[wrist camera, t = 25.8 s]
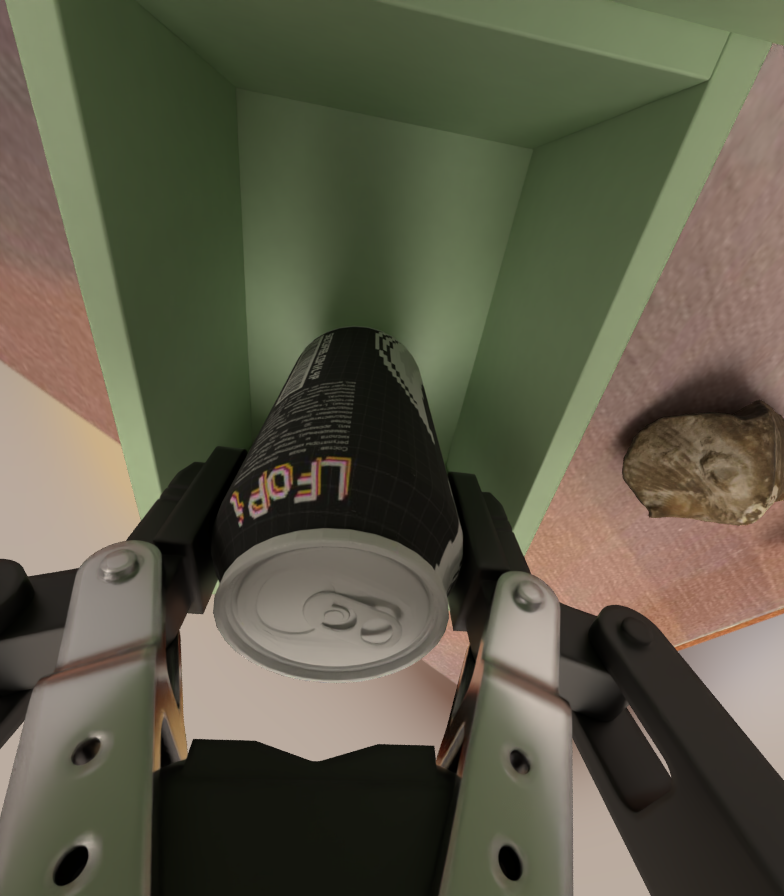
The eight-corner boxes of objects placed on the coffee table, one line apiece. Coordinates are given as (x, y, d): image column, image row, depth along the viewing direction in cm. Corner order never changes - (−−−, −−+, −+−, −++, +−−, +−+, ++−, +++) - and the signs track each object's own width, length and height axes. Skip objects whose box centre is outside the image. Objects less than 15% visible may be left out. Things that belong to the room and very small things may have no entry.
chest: (454, 468, 26) (497, 614, 16) (242, 445, 24) (158, 591, 15) (552, 130, 16) (783, 25, 7) (218, 58, 15) (-48, -193, 6)
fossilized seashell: (605, 518, 25) (722, 512, 27) (710, 546, 19) (852, 534, 21) (606, 404, 25) (724, 407, 27) (713, 391, 18) (856, 397, 21)
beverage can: (392, 452, 20) (409, 715, 9) (281, 415, 18) (161, 676, 8) (441, 350, 17) (541, 567, 7) (316, 298, 15) (197, 470, 5)
